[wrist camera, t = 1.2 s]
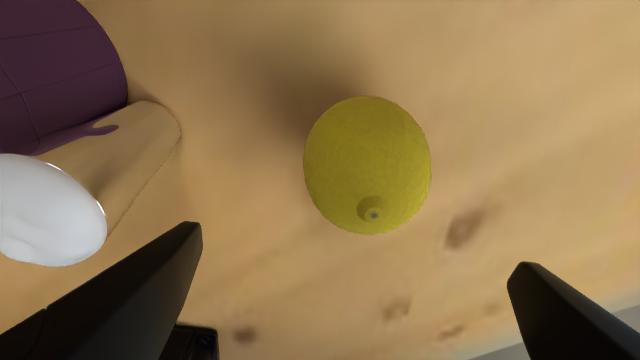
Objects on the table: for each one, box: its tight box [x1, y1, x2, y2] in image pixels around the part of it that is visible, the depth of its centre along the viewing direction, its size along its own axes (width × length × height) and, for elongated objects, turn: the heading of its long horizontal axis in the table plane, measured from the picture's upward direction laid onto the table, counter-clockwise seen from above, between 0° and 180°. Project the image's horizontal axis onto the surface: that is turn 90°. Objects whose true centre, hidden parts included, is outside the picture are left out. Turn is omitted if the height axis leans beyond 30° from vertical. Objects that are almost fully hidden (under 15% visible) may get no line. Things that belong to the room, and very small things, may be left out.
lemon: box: [303, 96, 431, 235], centre depth 14 cm, size 6×6×8 cm
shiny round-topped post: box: [0, 100, 181, 267], centre depth 13 cm, size 4×5×10 cm
